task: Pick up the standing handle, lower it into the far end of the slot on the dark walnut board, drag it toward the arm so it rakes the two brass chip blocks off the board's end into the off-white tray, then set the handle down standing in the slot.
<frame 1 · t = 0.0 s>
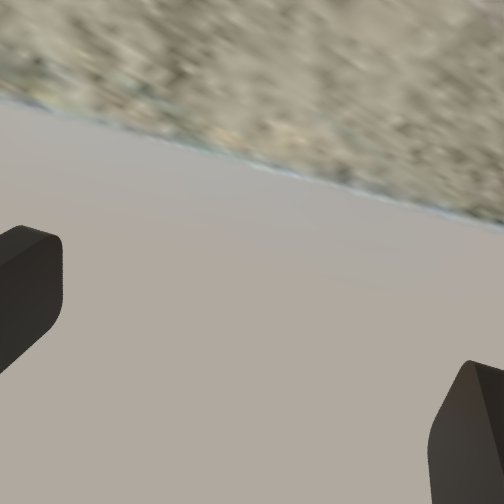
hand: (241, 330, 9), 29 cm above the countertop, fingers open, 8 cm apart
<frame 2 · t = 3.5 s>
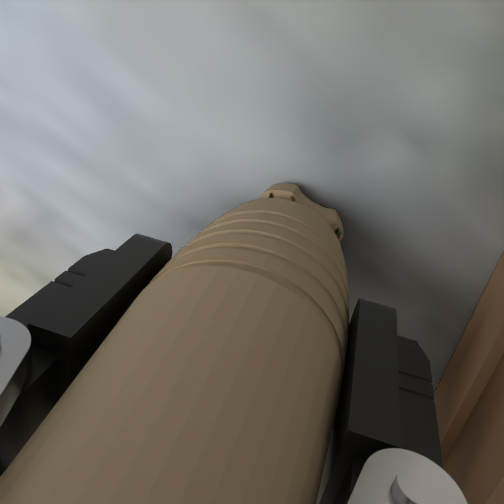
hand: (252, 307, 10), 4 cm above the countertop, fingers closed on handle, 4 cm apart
handle: (289, 231, 14), on the countertop, touching gripper
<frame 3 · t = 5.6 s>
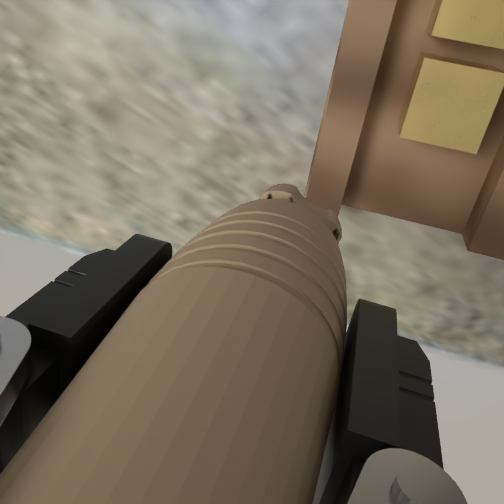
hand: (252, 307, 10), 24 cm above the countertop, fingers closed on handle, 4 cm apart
chip a: (442, 94, 27), point 2 cm above the countertop, touching slot board
slot board: (442, 81, 29), on the countertop
handle: (288, 232, 14), point 20 cm above the countertop, touching gripper
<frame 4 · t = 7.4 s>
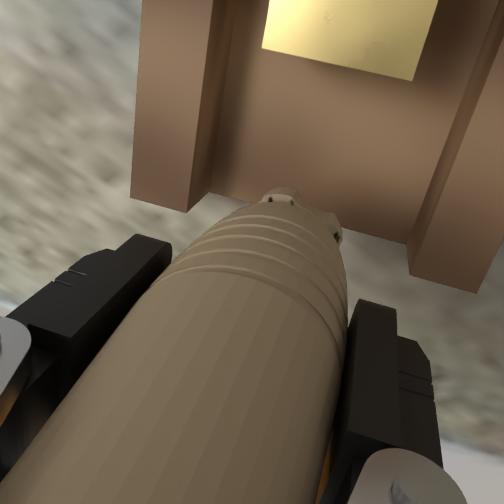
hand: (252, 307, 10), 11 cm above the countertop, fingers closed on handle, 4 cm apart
handle: (288, 234, 14), point 7 cm above the countertop, touching gripper
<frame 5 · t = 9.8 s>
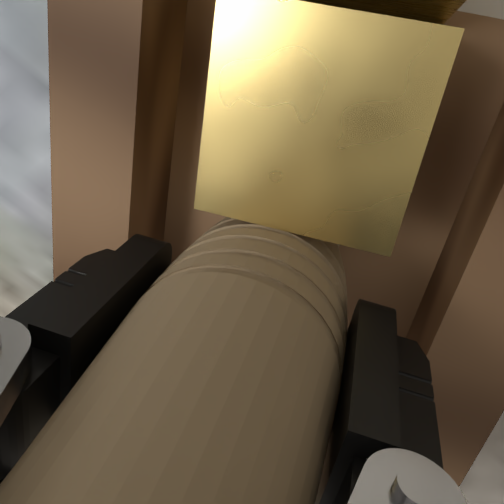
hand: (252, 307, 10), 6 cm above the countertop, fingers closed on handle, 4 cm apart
chip a: (331, 102, 12), point 2 cm above the countertop, touching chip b, handle
slot board: (291, 267, 17), on the countertop
handle: (288, 234, 14), point 2 cm above the countertop, touching chip a, gripper
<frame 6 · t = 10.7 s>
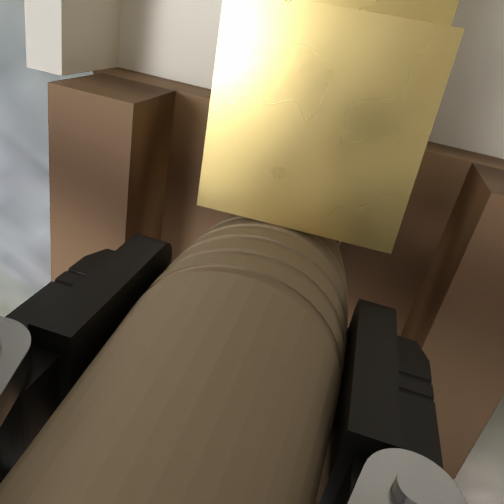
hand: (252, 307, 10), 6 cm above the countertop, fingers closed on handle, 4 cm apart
chip a: (332, 106, 12), point 2 cm above the countertop, touching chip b, handle
slot board: (269, 335, 18), on the countertop
handle: (288, 234, 14), point 2 cm above the countertop, touching chip a, gripper
when the fingers open (6 cm above the countertop, at t = 11.7 s): handle stays where it is, resting on slot board.
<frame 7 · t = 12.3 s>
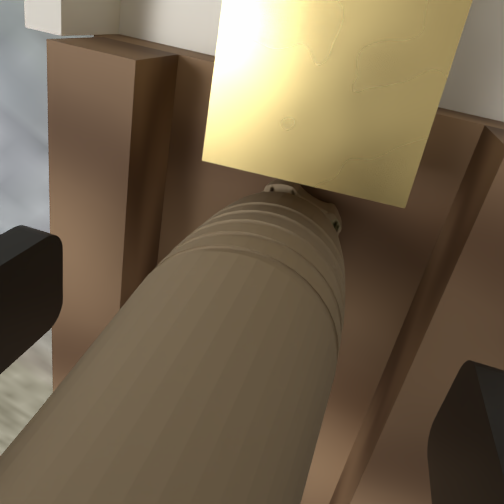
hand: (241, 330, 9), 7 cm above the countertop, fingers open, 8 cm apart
chip a: (340, 68, 12), point 2 cm above the countertop, touching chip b, slot board
slot board: (273, 315, 18), on the countertop
handle: (290, 225, 14), point 2 cm above the countertop, touching slot board
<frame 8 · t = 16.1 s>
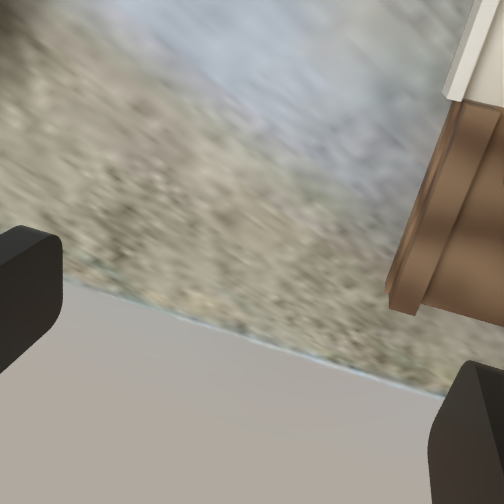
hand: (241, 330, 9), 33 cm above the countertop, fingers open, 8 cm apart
slot board: (495, 218, 39), on the countertop
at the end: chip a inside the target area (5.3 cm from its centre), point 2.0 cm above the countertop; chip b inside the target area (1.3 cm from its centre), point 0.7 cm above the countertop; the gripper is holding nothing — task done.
